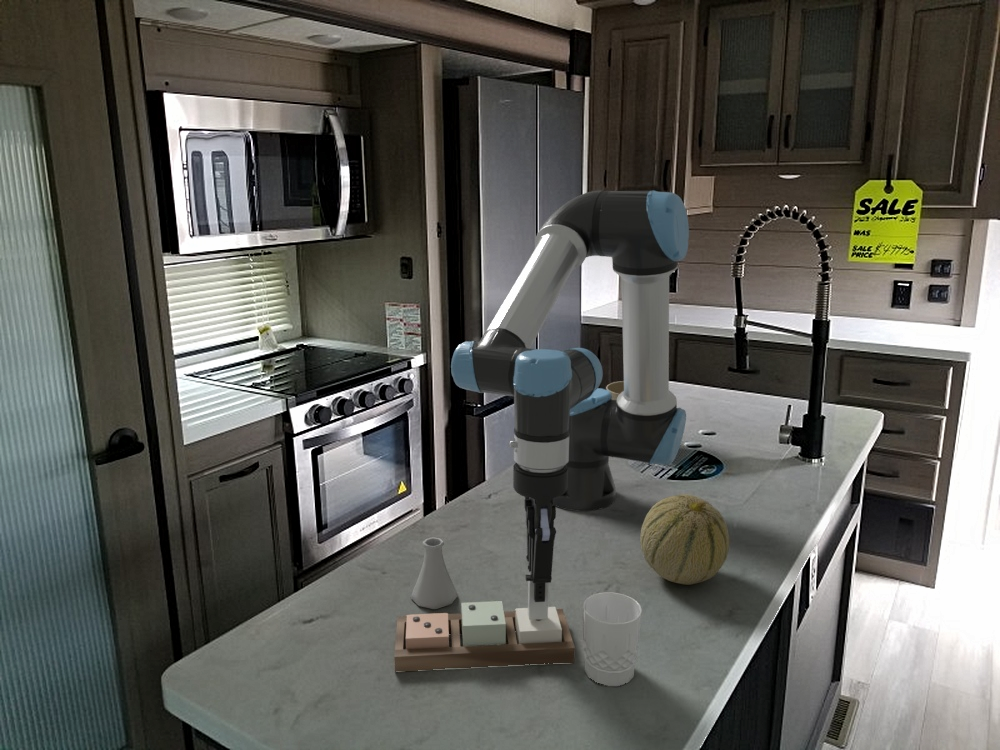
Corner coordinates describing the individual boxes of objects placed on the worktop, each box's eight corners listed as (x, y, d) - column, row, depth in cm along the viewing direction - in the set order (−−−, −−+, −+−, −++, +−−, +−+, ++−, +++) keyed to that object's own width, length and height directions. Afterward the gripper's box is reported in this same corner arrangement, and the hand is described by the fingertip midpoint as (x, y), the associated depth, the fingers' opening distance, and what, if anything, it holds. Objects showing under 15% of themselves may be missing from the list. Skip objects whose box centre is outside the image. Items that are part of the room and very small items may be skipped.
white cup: (631, 653, 110) (635, 591, 108) (643, 689, 103) (647, 623, 100) (577, 654, 110) (579, 592, 108) (585, 690, 102) (587, 624, 100)
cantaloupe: (652, 550, 141) (656, 473, 137) (734, 568, 134) (741, 489, 130) (626, 587, 128) (630, 504, 124) (715, 609, 121) (722, 522, 118)
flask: (434, 581, 130) (432, 527, 127) (466, 596, 125) (465, 540, 123) (402, 599, 124) (400, 543, 122) (434, 615, 120) (433, 557, 117)
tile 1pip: (515, 627, 115) (515, 607, 114) (554, 625, 115) (555, 605, 114) (519, 651, 109) (519, 630, 108) (561, 649, 110) (561, 628, 109)
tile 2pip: (461, 622, 114) (461, 601, 113) (501, 620, 114) (501, 599, 113) (463, 646, 108) (462, 624, 107) (505, 644, 109) (505, 622, 108)
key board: (398, 631, 116) (397, 616, 115) (562, 623, 118) (562, 608, 117) (395, 672, 106) (394, 656, 105) (574, 663, 108) (574, 647, 107)
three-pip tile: (407, 633, 114) (406, 613, 113) (448, 632, 114) (447, 611, 113) (406, 658, 108) (405, 637, 107) (449, 656, 108) (448, 635, 107)
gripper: (508, 447, 111) (507, 594, 117) (518, 482, 99) (516, 644, 105) (560, 446, 112) (556, 592, 118) (576, 480, 99) (571, 641, 105)
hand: (537, 616), depth 111 cm, fingers closed
